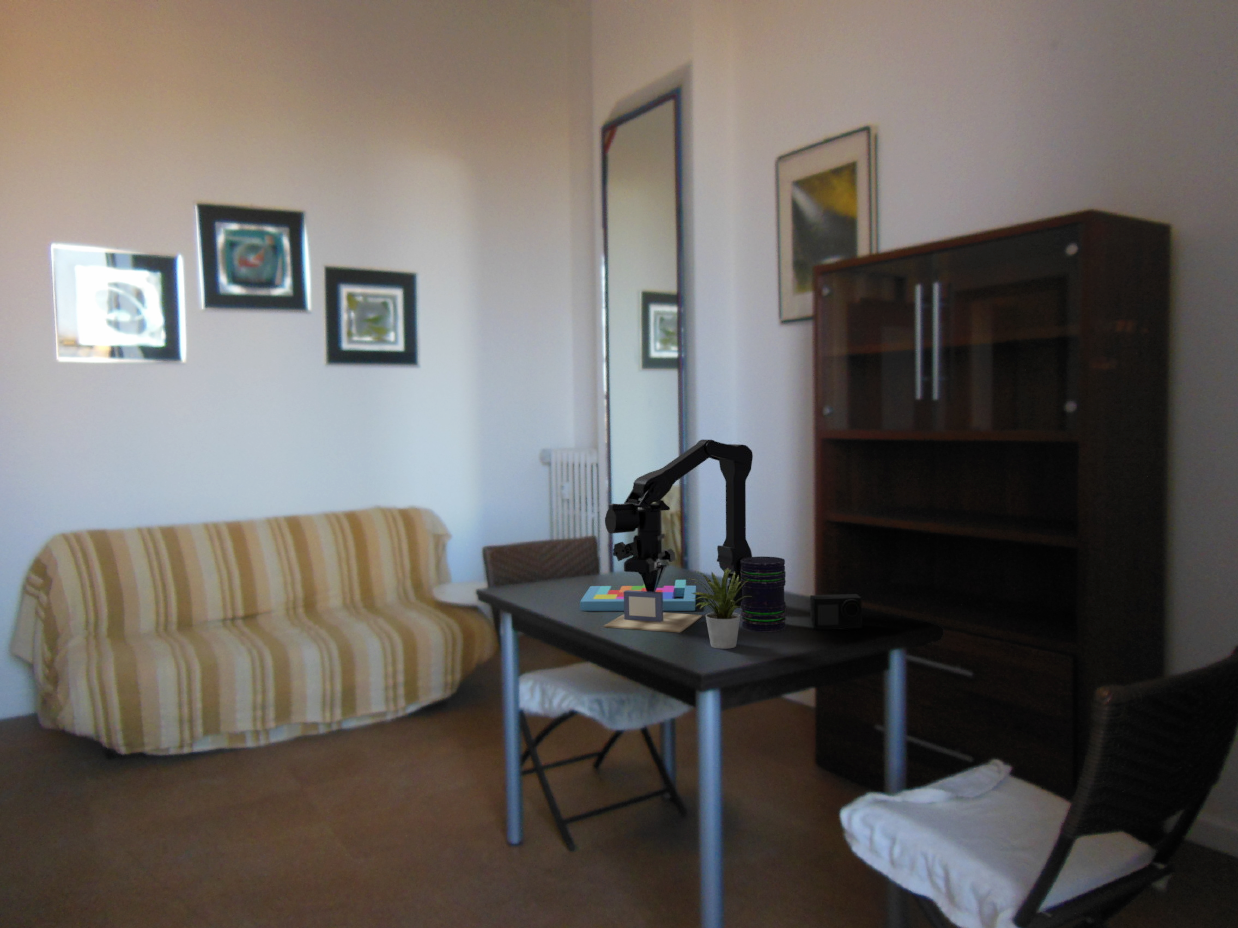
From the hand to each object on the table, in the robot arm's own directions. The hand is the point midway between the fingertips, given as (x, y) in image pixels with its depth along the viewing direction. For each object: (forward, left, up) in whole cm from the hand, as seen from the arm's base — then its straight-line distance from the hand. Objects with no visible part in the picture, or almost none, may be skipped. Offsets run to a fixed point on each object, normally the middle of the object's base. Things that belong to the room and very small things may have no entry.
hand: (650, 596), depth 210 cm
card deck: (0, +4, -5) cm, 6 cm away
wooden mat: (-2, +4, -5) cm, 7 cm away
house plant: (-22, +18, -5) cm, 29 cm away
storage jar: (-27, +1, -5) cm, 28 cm away
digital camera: (-42, -2, -5) cm, 43 cm away
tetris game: (+10, -20, -6) cm, 23 cm away
